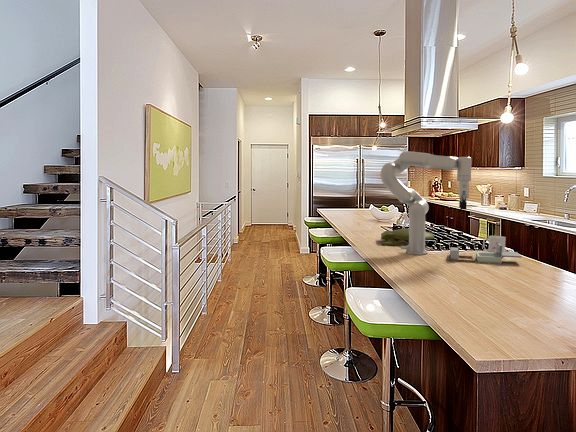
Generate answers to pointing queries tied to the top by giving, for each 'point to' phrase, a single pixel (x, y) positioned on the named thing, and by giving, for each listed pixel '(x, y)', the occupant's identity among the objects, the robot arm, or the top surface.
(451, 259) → the tray
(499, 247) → the bin lid
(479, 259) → the bin
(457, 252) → the stone
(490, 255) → the stone
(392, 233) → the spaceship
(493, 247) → the mug
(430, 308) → the top surface
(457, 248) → the stone
